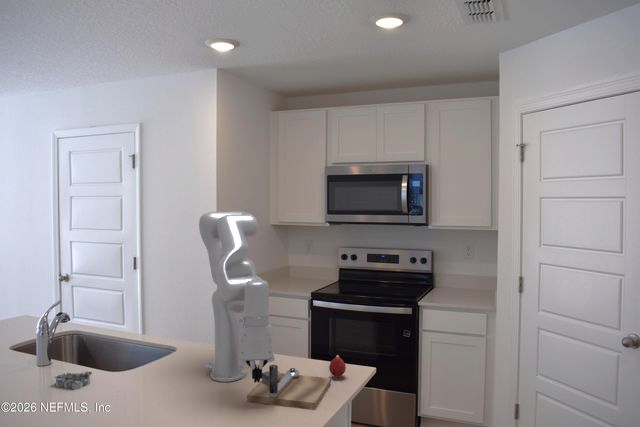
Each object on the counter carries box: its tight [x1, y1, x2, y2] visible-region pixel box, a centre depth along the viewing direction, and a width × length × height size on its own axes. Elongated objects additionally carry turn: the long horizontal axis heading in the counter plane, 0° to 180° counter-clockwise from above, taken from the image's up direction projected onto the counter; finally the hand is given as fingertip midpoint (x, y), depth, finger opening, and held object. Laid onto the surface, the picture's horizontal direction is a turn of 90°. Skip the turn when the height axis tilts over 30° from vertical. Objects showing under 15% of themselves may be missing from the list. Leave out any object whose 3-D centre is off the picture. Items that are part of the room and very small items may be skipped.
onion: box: [328, 354, 347, 379], centre depth 164 cm, size 6×6×8 cm
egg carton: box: [53, 371, 93, 390], centre depth 158 cm, size 11×8×4 cm
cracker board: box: [246, 371, 332, 410], centre depth 152 cm, size 22×20×6 cm
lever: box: [268, 364, 300, 397], centre depth 152 cm, size 20×4×9 cm, turn 163°
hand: (257, 380), depth 142 cm, fingers closed
